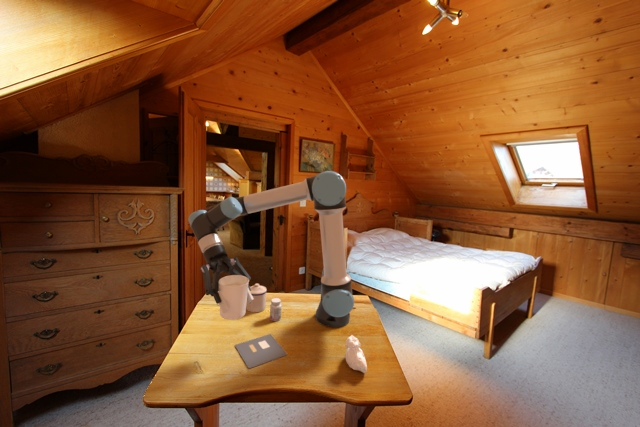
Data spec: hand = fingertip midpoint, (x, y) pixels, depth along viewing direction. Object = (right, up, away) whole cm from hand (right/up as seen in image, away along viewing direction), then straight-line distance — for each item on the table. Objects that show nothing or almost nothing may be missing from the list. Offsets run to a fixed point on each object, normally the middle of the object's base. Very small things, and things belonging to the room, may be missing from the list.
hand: (239, 305), depth 94 cm
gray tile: (+6, -18, +6) cm, 20 cm away
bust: (+39, -21, +1) cm, 44 cm away
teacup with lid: (-4, -13, +35) cm, 38 cm away
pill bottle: (+8, -15, +28) cm, 32 cm away
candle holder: (-3, -4, +2) cm, 5 cm away
